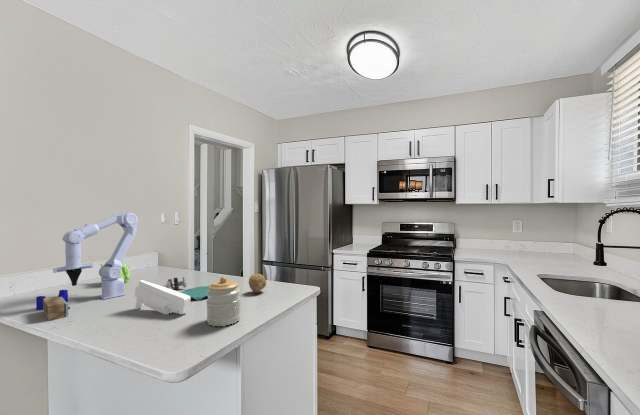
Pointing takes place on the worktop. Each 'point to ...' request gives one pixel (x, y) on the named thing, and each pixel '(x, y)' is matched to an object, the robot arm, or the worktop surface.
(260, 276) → the natural sponge
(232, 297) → the jar
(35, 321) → the worktop surface
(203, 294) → the teal cloth
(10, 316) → the worktop surface
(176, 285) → the bike brake
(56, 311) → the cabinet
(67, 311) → the door
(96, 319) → the worktop surface
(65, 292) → the cable clip
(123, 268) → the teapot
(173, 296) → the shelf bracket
